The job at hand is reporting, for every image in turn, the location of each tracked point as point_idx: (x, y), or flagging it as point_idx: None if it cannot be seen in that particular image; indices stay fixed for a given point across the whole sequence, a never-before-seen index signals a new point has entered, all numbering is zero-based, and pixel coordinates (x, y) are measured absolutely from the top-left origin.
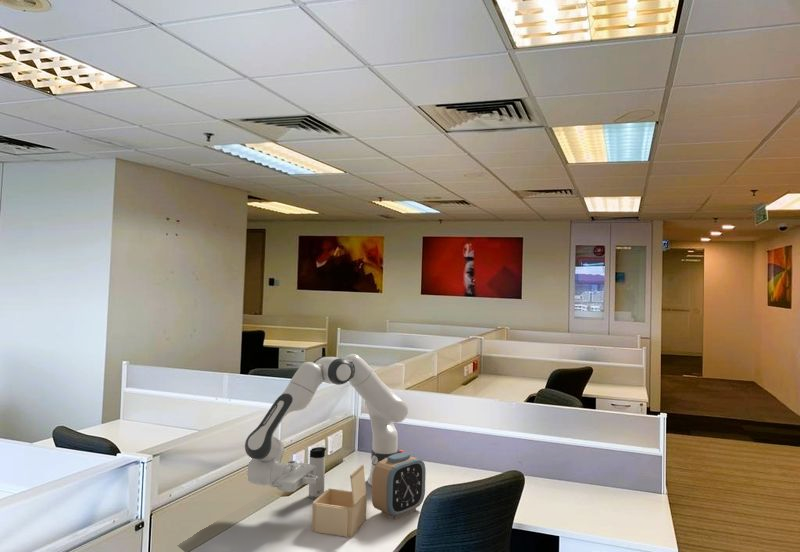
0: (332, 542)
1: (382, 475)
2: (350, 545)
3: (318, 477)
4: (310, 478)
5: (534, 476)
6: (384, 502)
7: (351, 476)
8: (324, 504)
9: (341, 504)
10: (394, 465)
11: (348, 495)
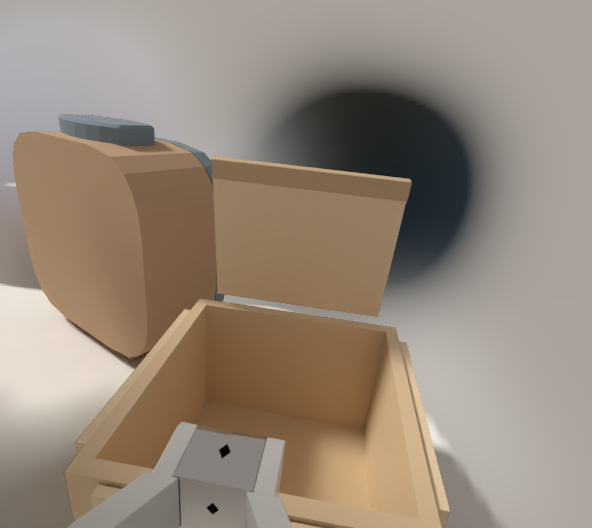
0: (451, 495)
1: (190, 198)
2: (432, 424)
3: (190, 424)
4: (280, 502)
5: (4, 184)
6: (208, 293)
7: (408, 185)
8: (417, 445)
9: (154, 452)
10: (179, 148)
11: (171, 371)
